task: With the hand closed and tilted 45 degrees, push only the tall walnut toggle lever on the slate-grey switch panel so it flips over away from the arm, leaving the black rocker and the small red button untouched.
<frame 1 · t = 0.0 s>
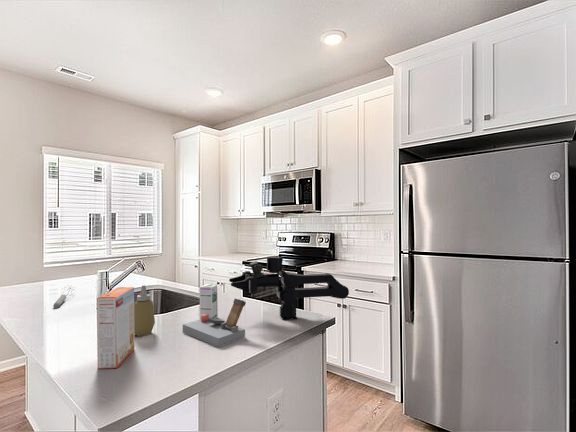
hand: (230, 282, 140), 17 cm above the counter, tool horizontal, fingers open, 9 cm apart
syrup box: (208, 319, 144), on the counter
cracker box: (116, 359, 103), on the counter
lever: (234, 314, 123), point 8 cm above the counter, hinge at -30.0°
button: (204, 317, 131), point 4 cm above the counter, slide at 0.0 cm
kitchen whisk: (64, 301, 173), on the counter
squeeze bottle: (143, 334, 125), on the counter
panel: (213, 334, 124), on the counter
rocker: (216, 321, 127), point 4 cm above the counter, hinge at -15.0°
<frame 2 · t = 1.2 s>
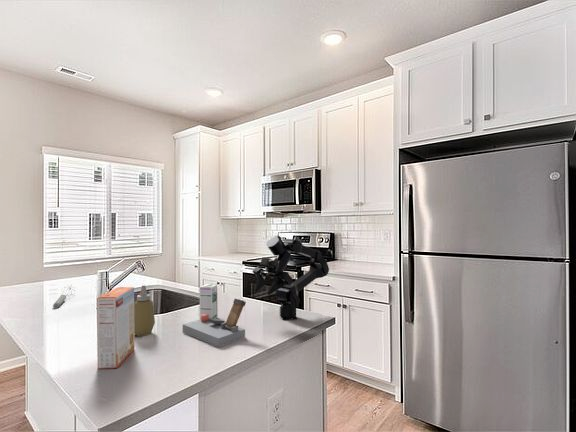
hand: (261, 292, 134), 14 cm above the counter, tool tilted 45°, fingers open, 7 cm apart
nothing on the counter moved.
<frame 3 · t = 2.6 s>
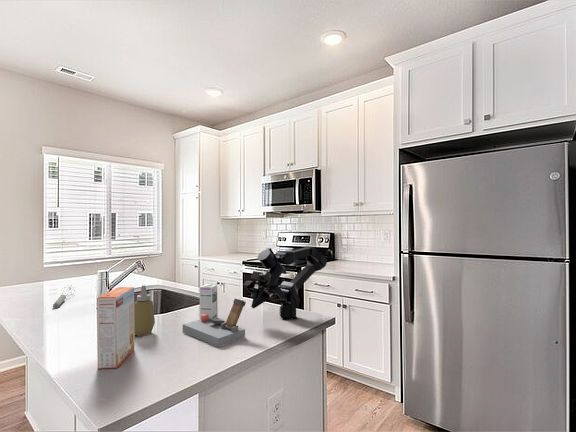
hand: (252, 307, 130), 9 cm above the counter, tool tilted 45°, fingers closed
nothing on the counter moved.
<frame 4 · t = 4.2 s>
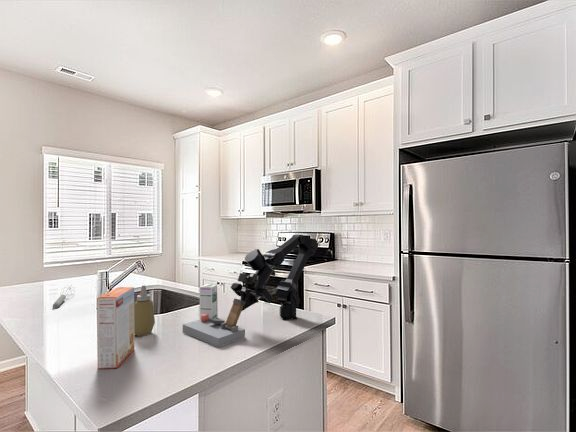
hand: (239, 311, 125), 9 cm above the counter, tool tilted 45°, fingers closed, pressing on lever
lever: (234, 314, 123), point 8 cm above the counter, hinge at -28.9°, touching gripper
everything else where it was.
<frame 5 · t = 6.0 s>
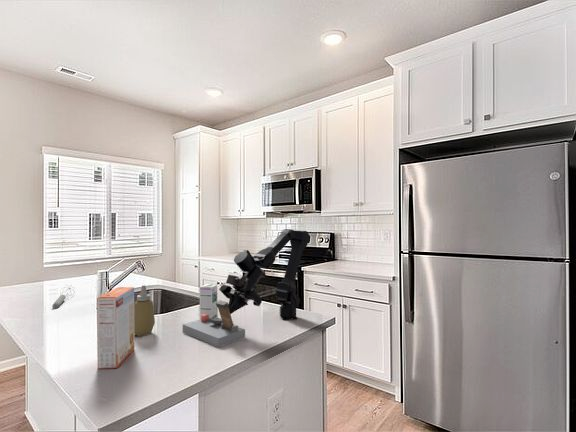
hand: (227, 314, 120), 9 cm above the counter, tool tilted 45°, fingers closed, pressing on lever
lever: (225, 316, 120), point 8 cm above the counter, hinge at 19.7°, touching gripper
everything else where it was.
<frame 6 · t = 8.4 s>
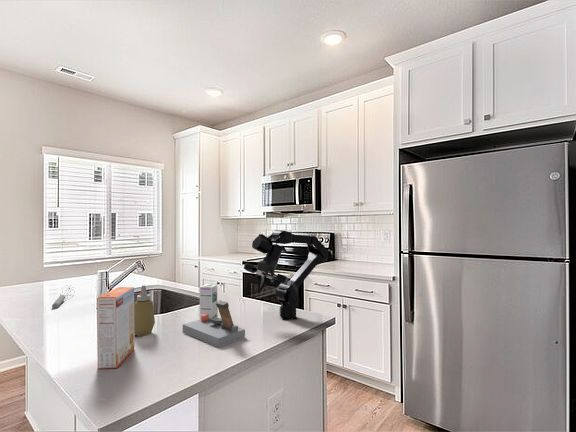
hand: (258, 293, 136), 13 cm above the counter, tool tilted 25°, fingers closed
lever: (225, 316, 120), point 8 cm above the counter, hinge at 19.8°
everything else where it was.
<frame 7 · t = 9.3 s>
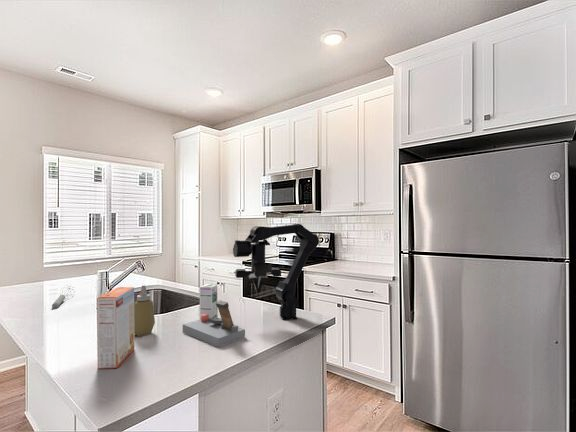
hand: (258, 293, 140), 12 cm above the counter, tool pointing down, fingers closed
nothing on the counter moved.
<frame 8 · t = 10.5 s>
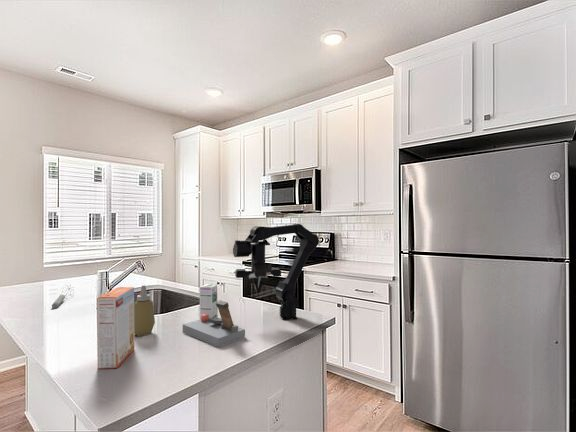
hand: (258, 293, 140), 12 cm above the counter, tool pointing down, fingers closed
nothing on the counter moved.
at the end: lever at +20° (first picture: -30°); rocker at -15° (first picture: -15°); button slide at 0.0 cm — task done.
